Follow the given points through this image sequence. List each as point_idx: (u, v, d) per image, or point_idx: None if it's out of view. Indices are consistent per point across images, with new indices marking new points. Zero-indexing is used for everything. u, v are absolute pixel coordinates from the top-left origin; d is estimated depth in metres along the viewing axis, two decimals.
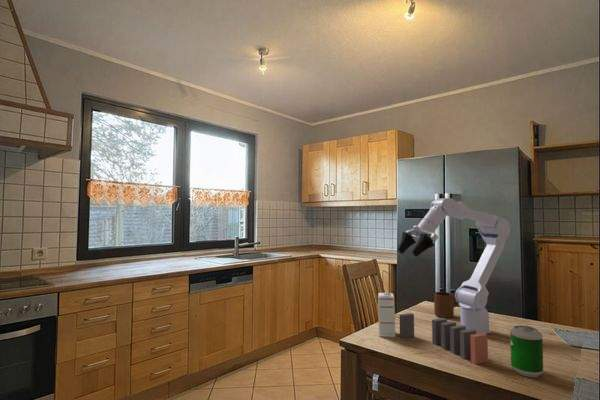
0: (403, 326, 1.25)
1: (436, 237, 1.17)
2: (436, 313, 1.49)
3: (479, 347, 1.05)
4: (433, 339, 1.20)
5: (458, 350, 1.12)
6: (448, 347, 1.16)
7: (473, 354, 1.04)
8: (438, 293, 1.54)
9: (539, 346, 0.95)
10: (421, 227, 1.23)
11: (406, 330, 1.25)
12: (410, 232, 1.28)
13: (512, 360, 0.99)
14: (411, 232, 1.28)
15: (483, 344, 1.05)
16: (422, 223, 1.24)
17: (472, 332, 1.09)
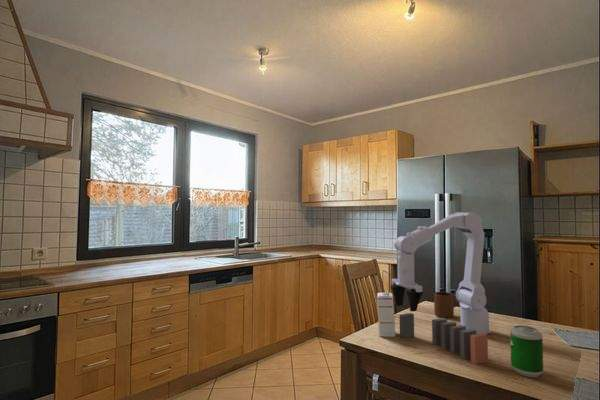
0: (403, 326, 1.25)
1: (420, 288, 1.20)
2: (436, 313, 1.49)
3: (479, 347, 1.05)
4: (433, 339, 1.20)
5: (458, 350, 1.12)
6: (448, 347, 1.16)
7: (473, 354, 1.04)
8: (438, 293, 1.54)
9: (539, 346, 0.95)
10: (402, 281, 1.25)
11: (406, 330, 1.25)
12: None
13: (512, 360, 0.99)
14: None
15: (483, 344, 1.05)
16: (400, 276, 1.25)
17: (472, 332, 1.09)
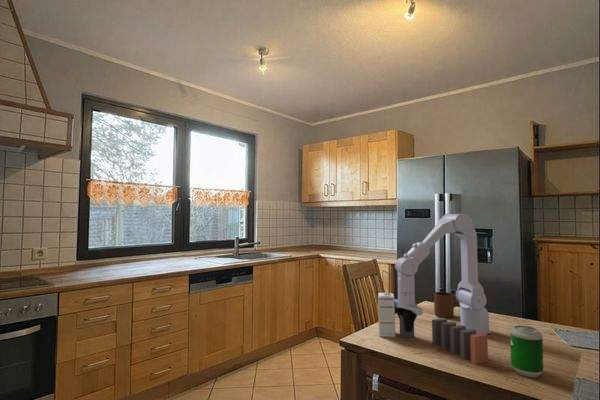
0: (403, 326, 1.25)
1: (421, 311, 1.20)
2: (436, 313, 1.49)
3: (479, 347, 1.05)
4: (433, 339, 1.20)
5: (458, 350, 1.12)
6: (448, 347, 1.16)
7: (473, 354, 1.04)
8: (438, 293, 1.54)
9: (539, 346, 0.95)
10: (403, 304, 1.25)
11: None
12: None
13: (512, 360, 0.99)
14: None
15: (483, 344, 1.05)
16: (401, 298, 1.25)
17: (472, 332, 1.09)
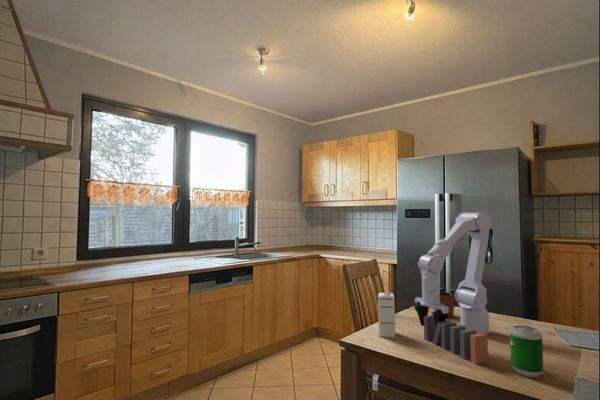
0: (427, 328, 1.23)
1: (447, 309, 1.18)
2: None
3: (479, 347, 1.05)
4: (434, 339, 1.19)
5: (458, 350, 1.12)
6: (448, 347, 1.16)
7: (473, 354, 1.04)
8: None
9: (539, 346, 0.95)
10: (427, 302, 1.22)
11: (431, 332, 1.23)
12: None
13: (512, 360, 0.99)
14: None
15: (483, 344, 1.05)
16: (425, 296, 1.23)
17: (472, 332, 1.09)
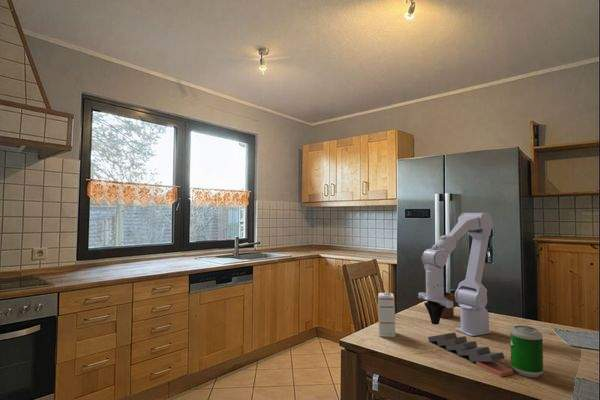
0: (438, 340, 1.18)
1: (451, 304, 1.16)
2: None
3: None
4: (439, 342, 1.17)
5: None
6: None
7: None
8: None
9: (539, 346, 0.95)
10: (431, 296, 1.21)
11: None
12: None
13: (512, 360, 0.99)
14: None
15: None
16: (429, 291, 1.21)
17: (499, 359, 1.01)
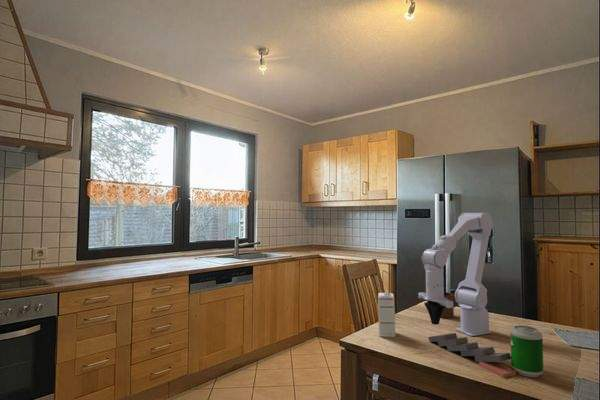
0: None
1: (451, 304, 1.16)
2: None
3: None
4: (440, 342, 1.17)
5: None
6: None
7: None
8: None
9: (539, 346, 0.95)
10: (431, 296, 1.21)
11: None
12: None
13: (512, 360, 0.99)
14: None
15: None
16: (429, 291, 1.21)
17: (507, 359, 1.01)
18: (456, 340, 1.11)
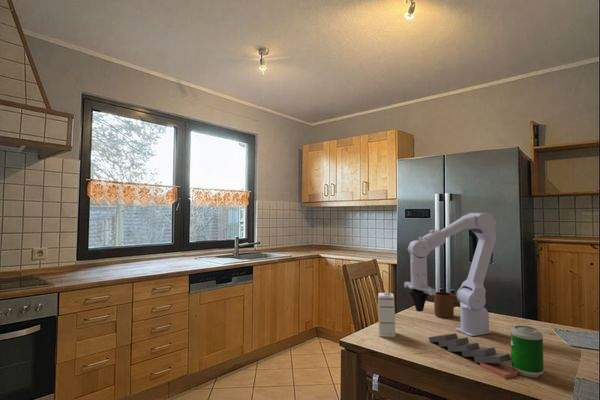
0: (438, 341, 1.18)
1: (434, 291, 1.24)
2: (436, 313, 1.49)
3: None
4: (441, 342, 1.16)
5: None
6: None
7: (488, 370, 1.00)
8: (438, 293, 1.54)
9: (539, 346, 0.95)
10: (415, 285, 1.28)
11: None
12: None
13: (512, 360, 0.99)
14: None
15: None
16: (414, 280, 1.29)
17: (506, 360, 1.00)
18: (457, 340, 1.11)
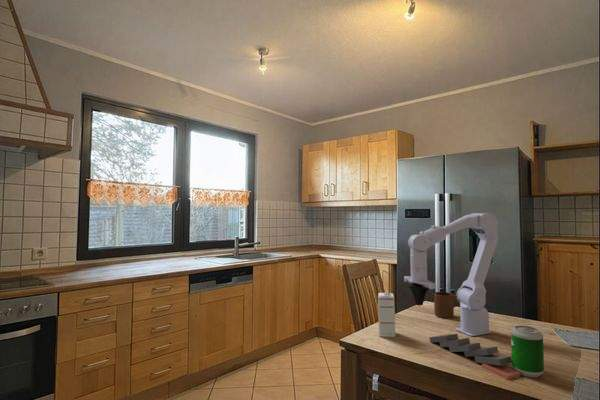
0: (439, 341, 1.18)
1: (433, 285, 1.24)
2: (436, 313, 1.49)
3: None
4: (442, 343, 1.16)
5: None
6: None
7: (490, 371, 1.00)
8: (438, 293, 1.54)
9: (539, 346, 0.95)
10: (415, 279, 1.28)
11: None
12: None
13: (513, 360, 0.99)
14: None
15: None
16: (413, 274, 1.29)
17: None
18: (458, 341, 1.11)
